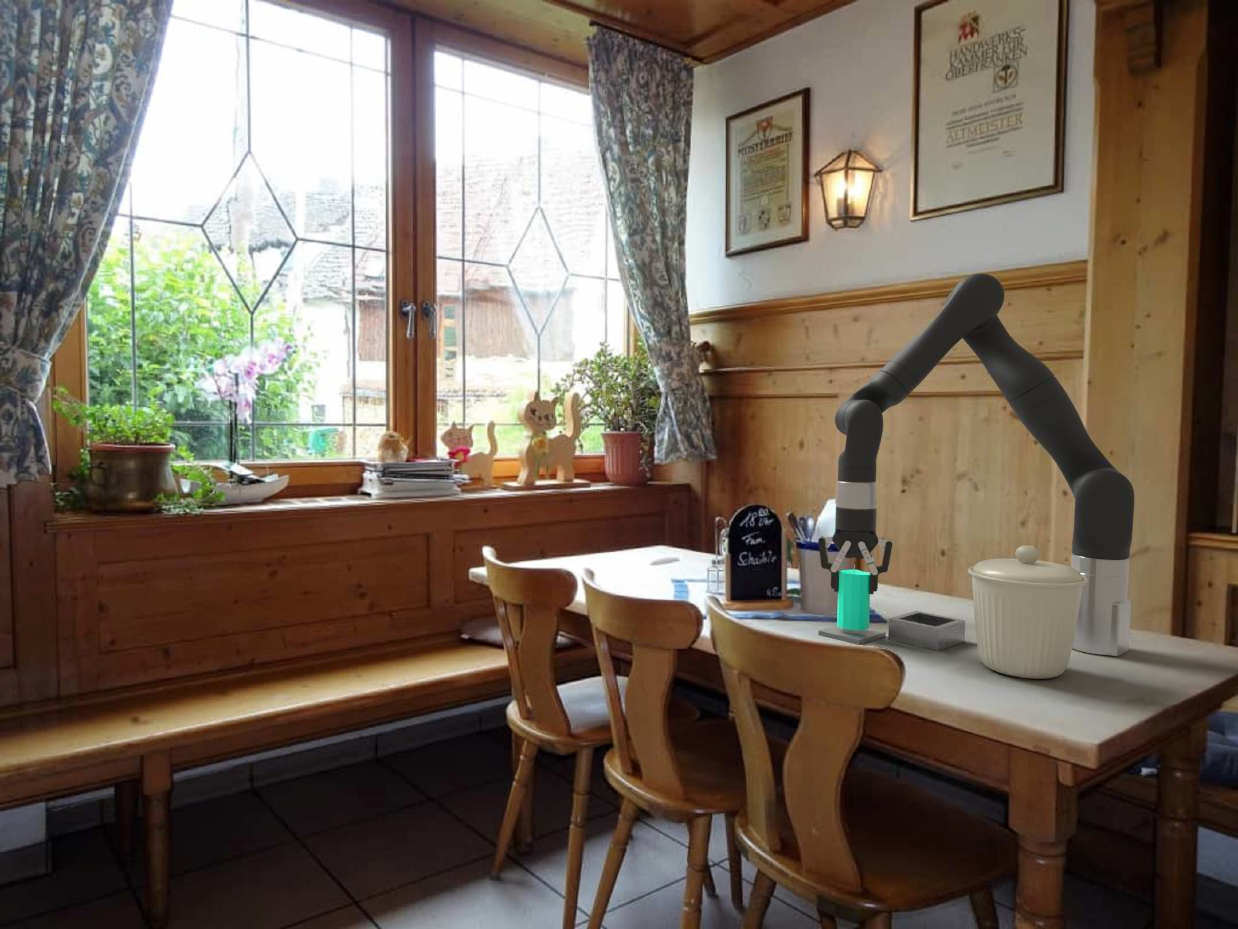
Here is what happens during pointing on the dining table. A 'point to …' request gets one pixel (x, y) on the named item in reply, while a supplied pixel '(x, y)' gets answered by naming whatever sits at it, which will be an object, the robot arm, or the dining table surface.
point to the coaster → (852, 634)
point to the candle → (853, 599)
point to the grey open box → (926, 630)
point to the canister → (1026, 614)
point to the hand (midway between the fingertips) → (853, 592)
